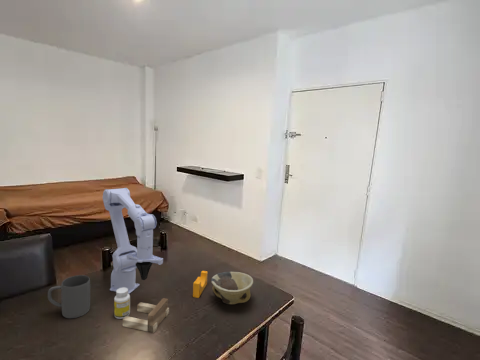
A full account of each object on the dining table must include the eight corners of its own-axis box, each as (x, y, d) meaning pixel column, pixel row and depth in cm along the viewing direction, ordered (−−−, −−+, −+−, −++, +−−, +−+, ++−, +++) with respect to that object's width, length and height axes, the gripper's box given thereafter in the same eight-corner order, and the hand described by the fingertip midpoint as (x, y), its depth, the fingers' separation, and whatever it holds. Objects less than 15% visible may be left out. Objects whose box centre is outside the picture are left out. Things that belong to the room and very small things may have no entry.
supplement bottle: (117, 310, 104) (117, 286, 103) (131, 310, 104) (132, 286, 103) (111, 319, 99) (111, 293, 97) (127, 319, 99) (127, 294, 98)
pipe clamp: (198, 283, 128) (198, 270, 127) (206, 284, 127) (207, 271, 126) (188, 296, 116) (189, 282, 115) (198, 298, 116) (199, 284, 115)
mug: (92, 302, 107) (92, 274, 106) (87, 317, 99) (86, 286, 97) (52, 306, 104) (52, 276, 102) (43, 321, 95) (42, 289, 93)
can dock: (122, 326, 95) (122, 310, 95) (140, 308, 106) (140, 293, 105) (154, 332, 93) (154, 316, 92) (168, 313, 104) (169, 299, 103)
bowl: (258, 296, 120) (259, 275, 119) (240, 318, 104) (242, 295, 102) (222, 285, 127) (223, 265, 126) (201, 304, 111) (202, 282, 110)
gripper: (121, 247, 104) (121, 280, 105) (157, 252, 101) (156, 286, 103) (132, 240, 111) (132, 272, 112) (165, 245, 108) (164, 277, 110)
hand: (144, 278), depth 108 cm, fingers closed
